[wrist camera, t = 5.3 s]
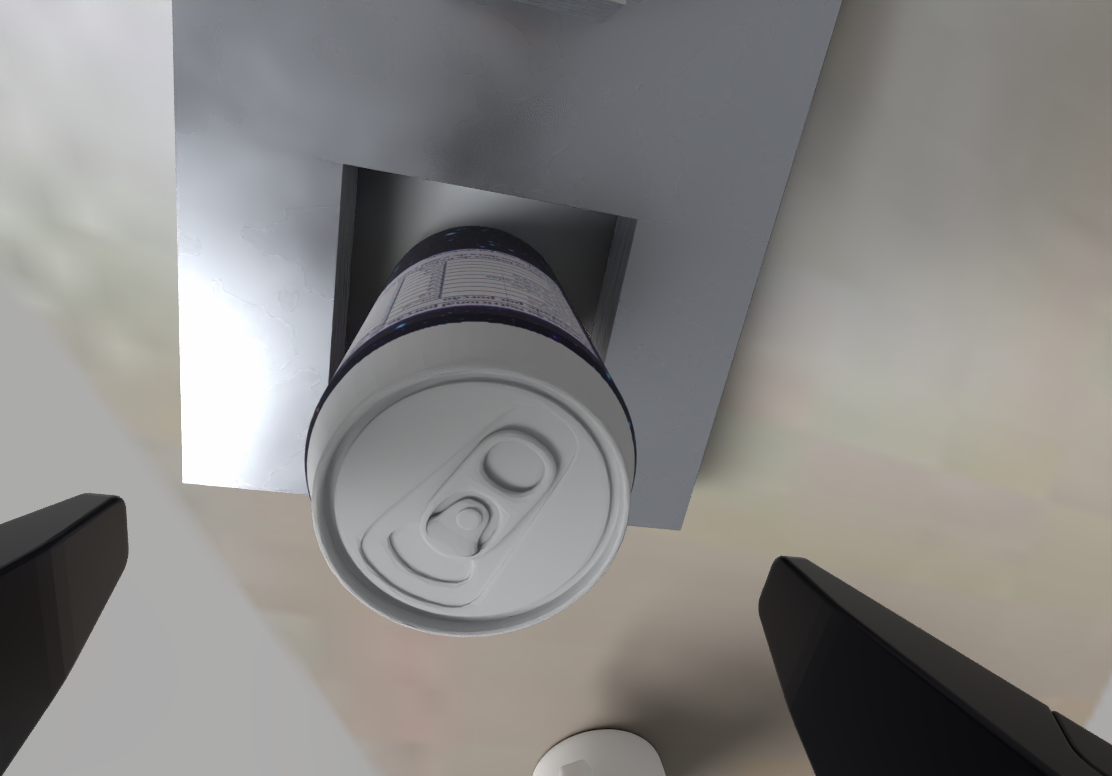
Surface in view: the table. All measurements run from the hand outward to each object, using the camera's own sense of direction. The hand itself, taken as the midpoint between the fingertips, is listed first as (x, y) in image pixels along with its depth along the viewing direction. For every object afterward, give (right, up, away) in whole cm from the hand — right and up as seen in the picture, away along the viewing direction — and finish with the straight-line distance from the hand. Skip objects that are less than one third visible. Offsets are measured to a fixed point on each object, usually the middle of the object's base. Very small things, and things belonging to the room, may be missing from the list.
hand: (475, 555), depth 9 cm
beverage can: (-2, +5, +12) cm, 13 cm away
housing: (-1, +9, +11) cm, 14 cm away
